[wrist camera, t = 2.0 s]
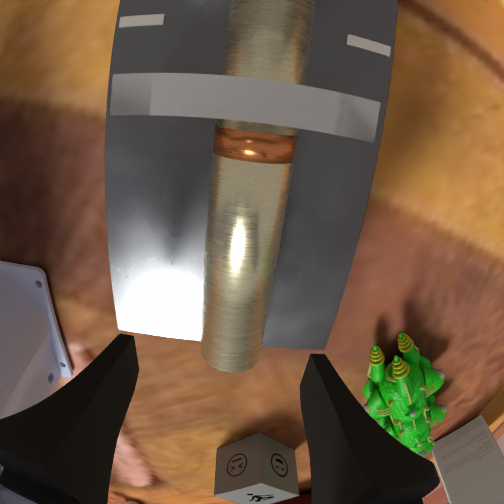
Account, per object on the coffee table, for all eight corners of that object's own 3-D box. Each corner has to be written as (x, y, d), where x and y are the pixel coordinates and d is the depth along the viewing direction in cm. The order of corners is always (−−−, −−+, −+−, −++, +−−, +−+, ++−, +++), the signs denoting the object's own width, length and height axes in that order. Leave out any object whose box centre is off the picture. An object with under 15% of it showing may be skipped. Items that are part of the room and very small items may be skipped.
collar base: (321, 338, 19) (341, 414, 14) (123, 319, 18) (90, 391, 13) (391, -42, 9) (448, -86, 4) (146, -70, 8) (106, -126, 3)
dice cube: (253, 465, 27) (253, 507, 22) (216, 448, 25) (214, 495, 20) (294, 449, 25) (299, 495, 21) (259, 431, 23) (261, 482, 19)
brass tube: (248, 328, 18) (269, 366, 15) (194, 335, 16) (209, 377, 14) (291, 12, 11) (332, -2, 8) (222, -3, 9) (250, -27, 7)
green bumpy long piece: (383, 446, 26) (392, 479, 22) (332, 344, 19) (346, 396, 15) (440, 419, 25) (454, 451, 21) (424, 299, 18) (455, 343, 14)
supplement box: (433, 459, 30) (458, 534, 19) (428, 443, 27) (459, 532, 16) (481, 432, 28) (512, 504, 17) (483, 411, 25) (522, 495, 14)
